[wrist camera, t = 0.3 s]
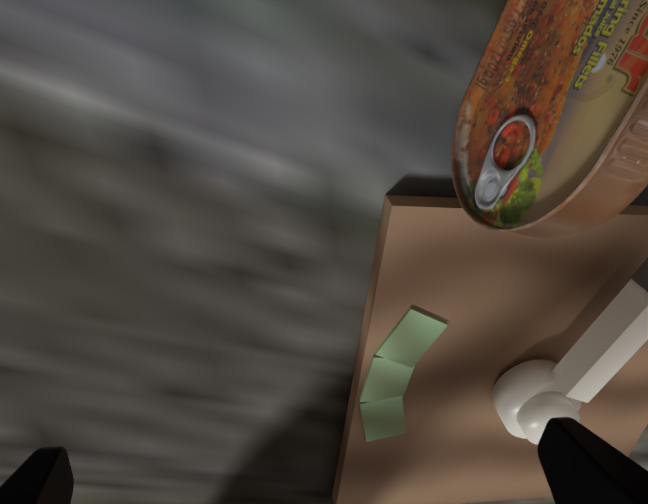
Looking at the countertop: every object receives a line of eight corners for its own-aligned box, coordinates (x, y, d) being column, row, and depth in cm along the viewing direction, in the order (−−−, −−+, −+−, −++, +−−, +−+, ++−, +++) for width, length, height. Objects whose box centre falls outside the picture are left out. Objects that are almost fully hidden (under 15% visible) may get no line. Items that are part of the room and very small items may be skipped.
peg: (533, 421, 30) (557, 460, 28) (476, 406, 29) (497, 445, 27) (678, 259, 25) (723, 290, 23) (618, 231, 24) (659, 260, 22)
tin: (615, -245, 16) (914, -410, 9) (687, -201, 17) (1011, -318, 10) (426, 174, 23) (511, 274, 16) (484, 191, 24) (590, 292, 16)
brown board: (595, 478, 37) (607, 495, 36) (331, 495, 34) (335, 515, 32) (749, 209, 26) (773, 221, 25) (385, 194, 23) (393, 207, 22)
